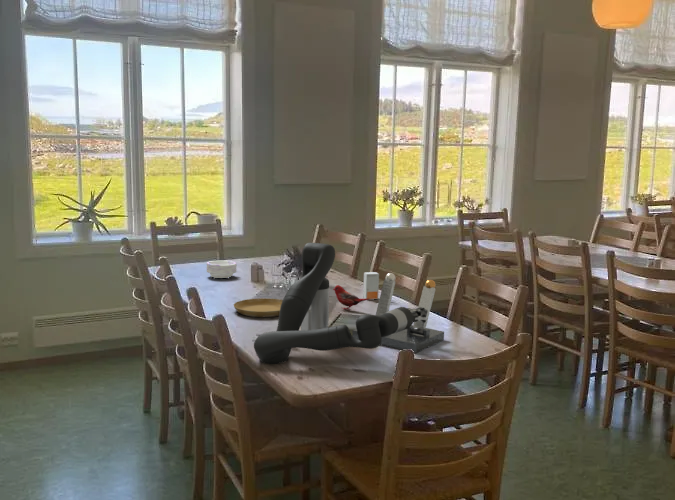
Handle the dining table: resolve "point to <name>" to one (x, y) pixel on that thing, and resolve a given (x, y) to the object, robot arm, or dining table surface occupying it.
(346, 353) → the dining table surface
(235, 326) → the dining table surface
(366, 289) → the skincare box
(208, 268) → the white footed bowl
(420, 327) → the orange lever
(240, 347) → the dining table surface
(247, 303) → the plant saucer
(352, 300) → the decorative bird figurine
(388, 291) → the white lever
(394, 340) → the switch panel
